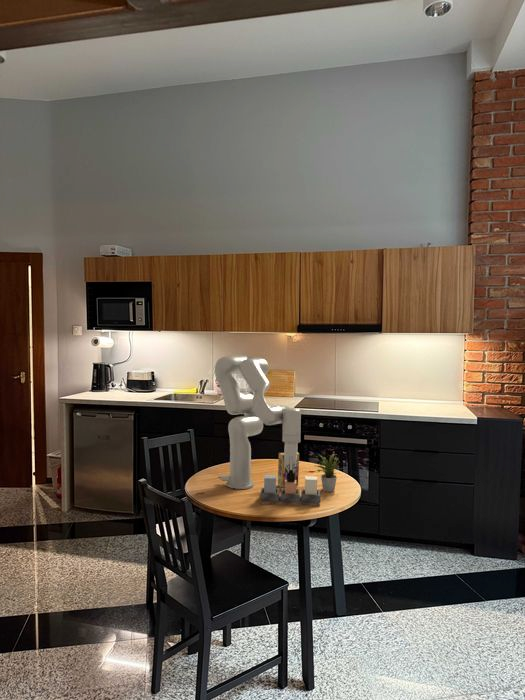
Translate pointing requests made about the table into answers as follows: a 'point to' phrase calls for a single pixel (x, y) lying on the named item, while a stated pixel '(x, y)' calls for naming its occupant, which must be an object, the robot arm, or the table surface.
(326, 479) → the house plant
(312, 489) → the cream button
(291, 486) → the terracotta button
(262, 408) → the robot arm
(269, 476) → the slate button
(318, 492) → the button board
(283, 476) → the candy box
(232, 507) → the table surface
